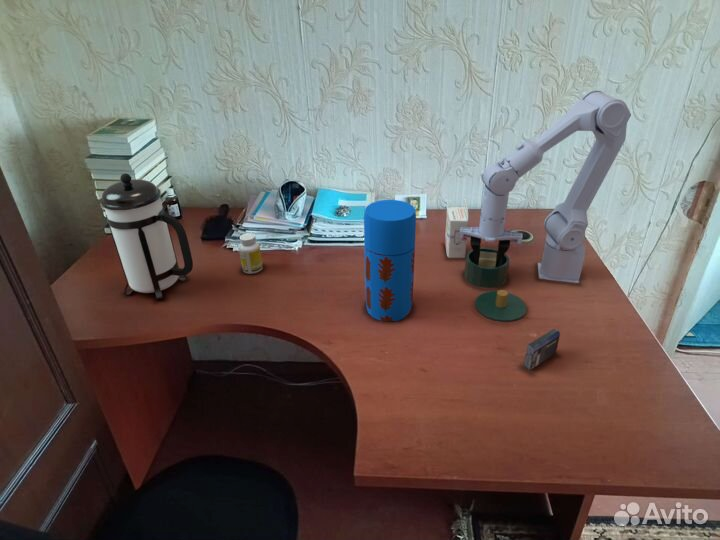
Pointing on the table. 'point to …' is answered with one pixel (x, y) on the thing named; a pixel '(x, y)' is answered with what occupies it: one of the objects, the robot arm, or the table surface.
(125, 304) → the table surface
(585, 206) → the robot arm
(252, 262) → the supplement bottle
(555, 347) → the mini dv tape
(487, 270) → the tin
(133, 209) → the coffee press
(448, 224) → the ink cartridge box
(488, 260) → the block
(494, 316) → the tin lid
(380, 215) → the thermos
